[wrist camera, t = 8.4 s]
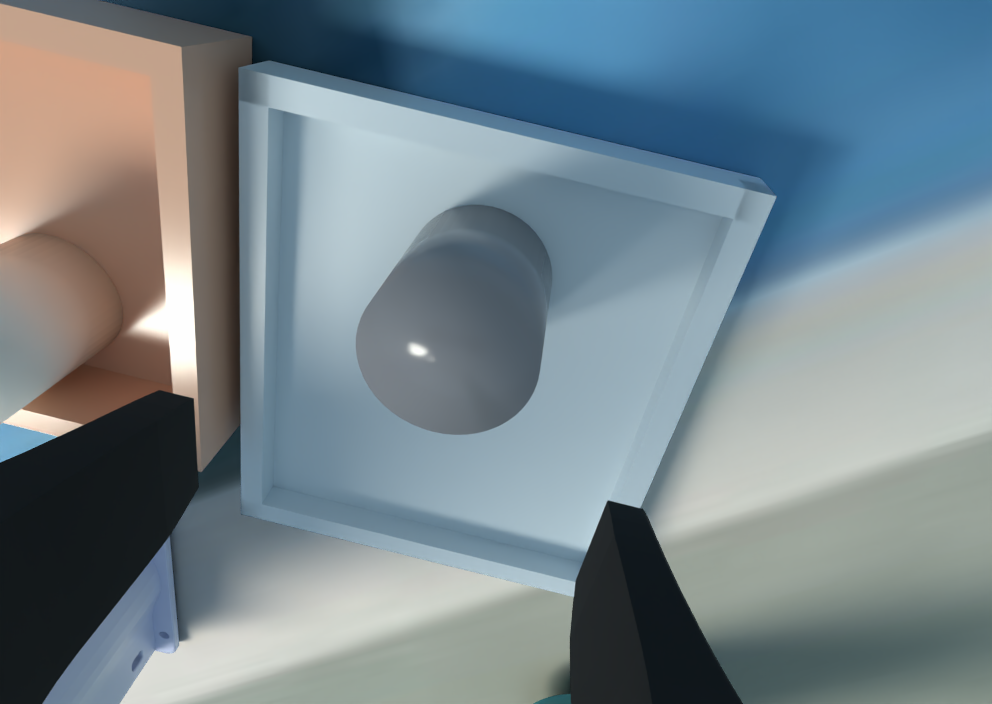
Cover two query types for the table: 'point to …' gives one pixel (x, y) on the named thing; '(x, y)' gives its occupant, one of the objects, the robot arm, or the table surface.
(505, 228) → the grey plastic cylinder
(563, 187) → the parts tray
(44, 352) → the pale grey cylinder
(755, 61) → the table surface
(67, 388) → the terracotta dish
